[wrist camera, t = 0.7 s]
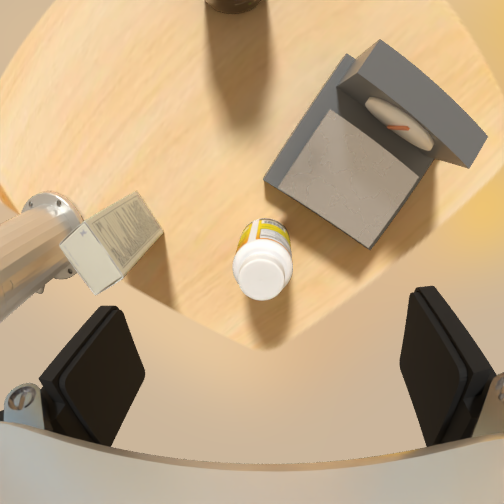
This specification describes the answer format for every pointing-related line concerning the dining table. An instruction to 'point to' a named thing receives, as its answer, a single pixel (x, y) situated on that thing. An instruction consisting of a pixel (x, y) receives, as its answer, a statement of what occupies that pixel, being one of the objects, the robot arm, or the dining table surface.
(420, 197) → the dining table surface
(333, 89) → the scale base
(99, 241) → the skincare box
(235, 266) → the supplement bottle
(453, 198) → the dining table surface
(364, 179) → the scale pan
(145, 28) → the dining table surface
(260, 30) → the dining table surface
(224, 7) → the supplement bottle
